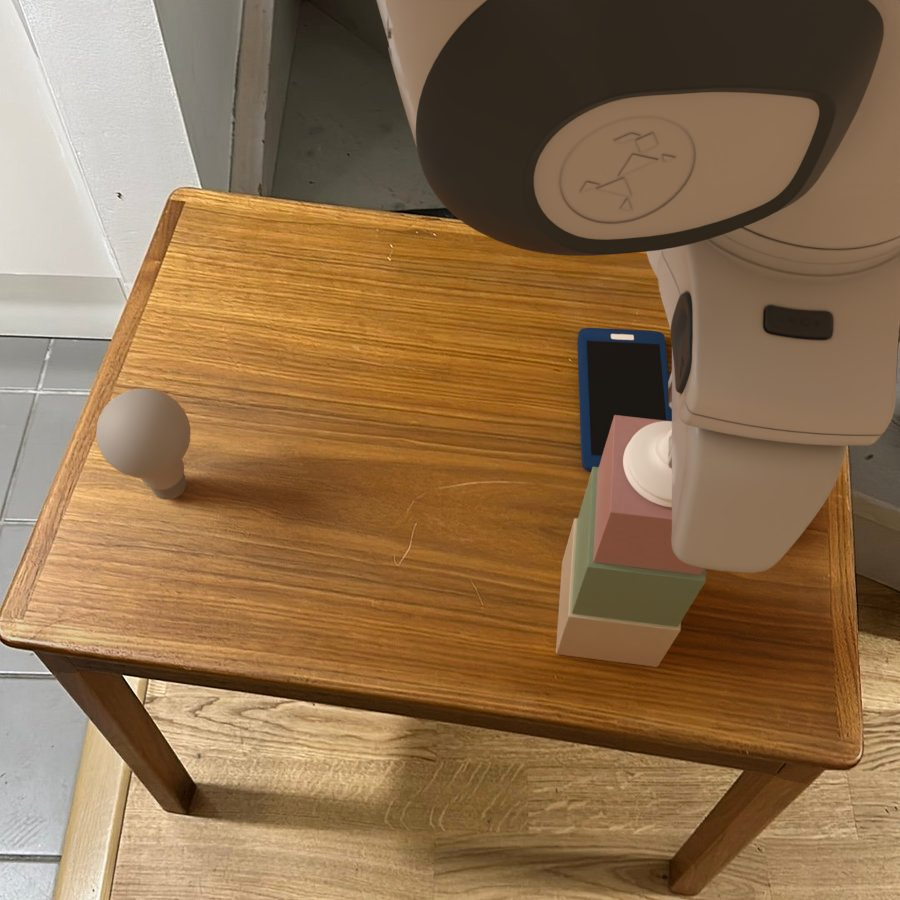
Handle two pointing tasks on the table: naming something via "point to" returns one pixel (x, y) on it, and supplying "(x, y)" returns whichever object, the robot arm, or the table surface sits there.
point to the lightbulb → (146, 439)
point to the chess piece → (650, 463)
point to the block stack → (622, 568)
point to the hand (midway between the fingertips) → (684, 428)
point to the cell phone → (619, 383)
